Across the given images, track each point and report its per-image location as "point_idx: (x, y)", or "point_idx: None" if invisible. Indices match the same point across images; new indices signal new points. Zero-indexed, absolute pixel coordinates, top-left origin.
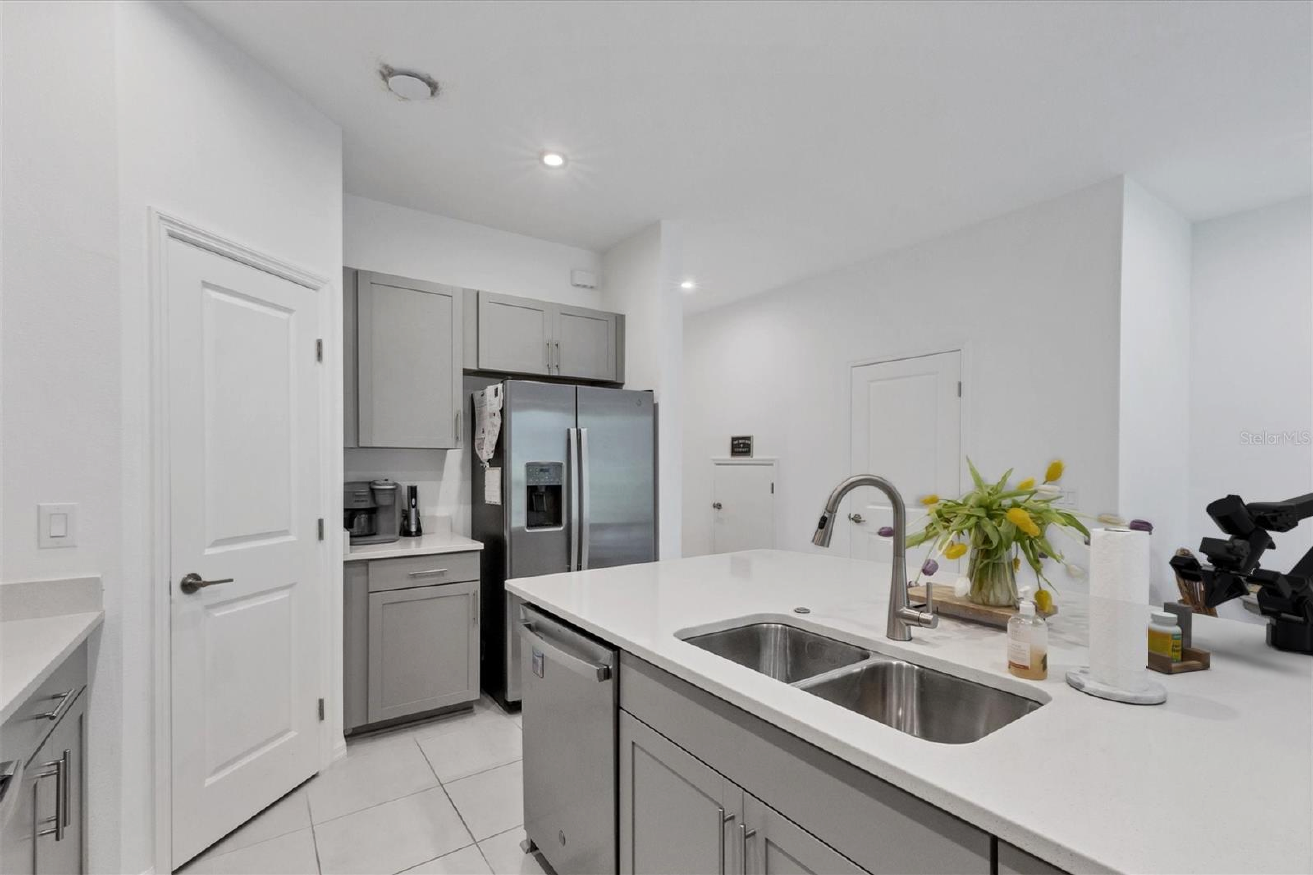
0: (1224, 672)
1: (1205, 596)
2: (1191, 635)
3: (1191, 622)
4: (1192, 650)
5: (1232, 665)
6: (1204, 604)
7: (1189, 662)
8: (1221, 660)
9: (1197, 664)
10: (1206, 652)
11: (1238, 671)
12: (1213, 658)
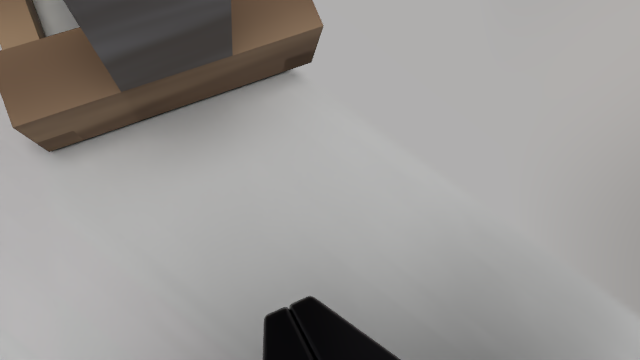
0: (3, 194)
1: (372, 352)
2: (103, 62)
3: (72, 11)
4: (45, 41)
5: (129, 342)
6: (308, 297)
7: (11, 9)
8: (214, 345)
9: (4, 48)
10: (9, 100)
11: (25, 292)
12: (245, 324)
